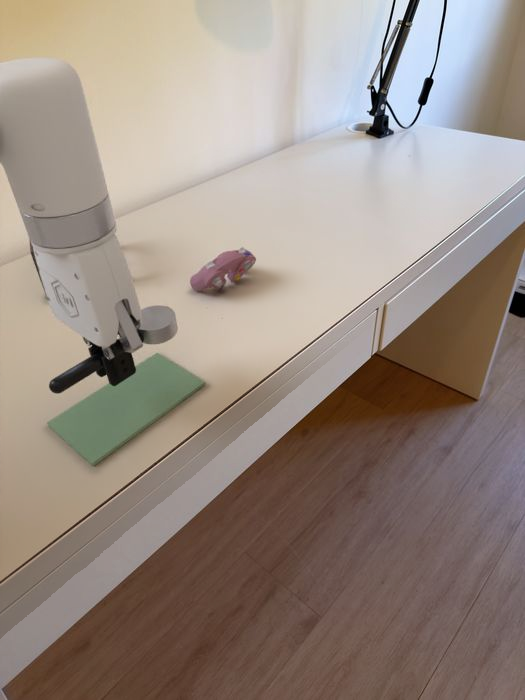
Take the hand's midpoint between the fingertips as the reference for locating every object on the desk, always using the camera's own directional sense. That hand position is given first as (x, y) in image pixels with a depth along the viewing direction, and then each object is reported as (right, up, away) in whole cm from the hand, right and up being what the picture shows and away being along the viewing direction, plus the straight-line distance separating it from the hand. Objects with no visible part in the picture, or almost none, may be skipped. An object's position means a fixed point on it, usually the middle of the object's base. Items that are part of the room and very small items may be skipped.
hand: (116, 373), depth 58 cm
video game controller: (+10, +13, +23) cm, 29 cm away
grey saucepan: (0, +2, -1) cm, 2 cm away
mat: (0, -4, +4) cm, 5 cm away
